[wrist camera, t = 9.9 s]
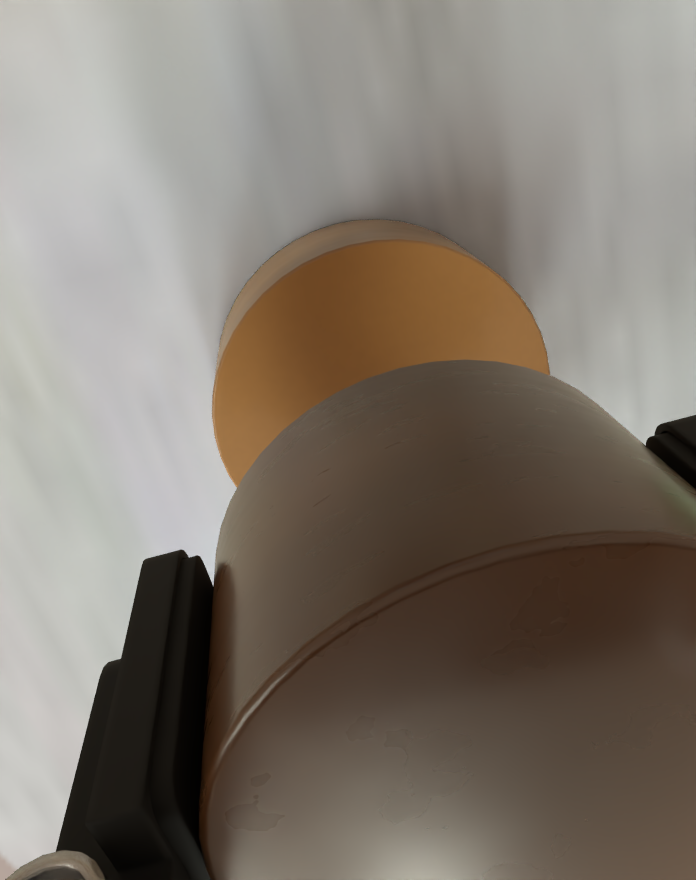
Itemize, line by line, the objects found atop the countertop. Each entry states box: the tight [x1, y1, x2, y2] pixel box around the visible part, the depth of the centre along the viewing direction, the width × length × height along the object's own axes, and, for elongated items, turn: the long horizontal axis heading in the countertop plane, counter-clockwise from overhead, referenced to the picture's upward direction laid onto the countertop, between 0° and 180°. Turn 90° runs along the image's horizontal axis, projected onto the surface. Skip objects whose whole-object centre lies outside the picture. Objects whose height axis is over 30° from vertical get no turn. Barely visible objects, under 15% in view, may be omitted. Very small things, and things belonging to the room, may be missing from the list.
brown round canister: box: [199, 359, 696, 880], centre depth 8 cm, size 7×7×4 cm
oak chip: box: [212, 219, 550, 488], centre depth 16 cm, size 8×8×2 cm
